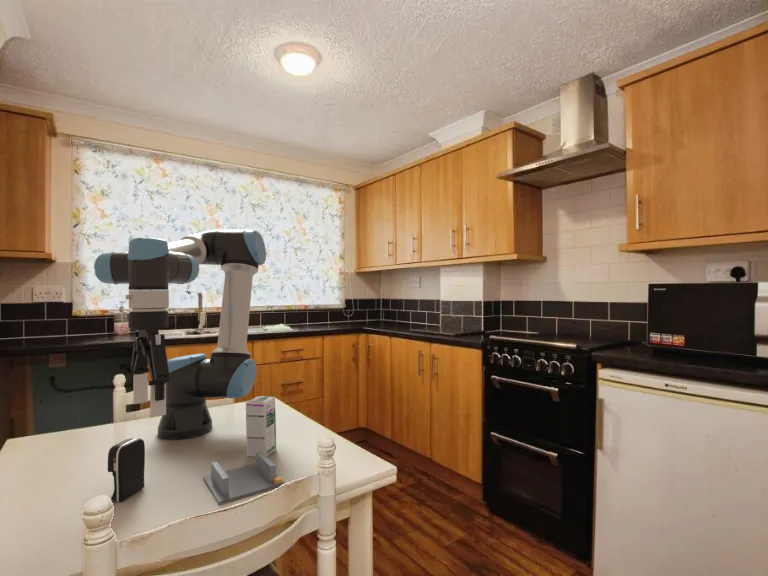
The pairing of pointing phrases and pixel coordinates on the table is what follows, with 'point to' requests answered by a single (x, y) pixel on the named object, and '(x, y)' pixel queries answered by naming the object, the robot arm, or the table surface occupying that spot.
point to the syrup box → (261, 425)
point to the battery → (127, 468)
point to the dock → (242, 479)
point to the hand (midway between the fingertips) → (148, 409)
